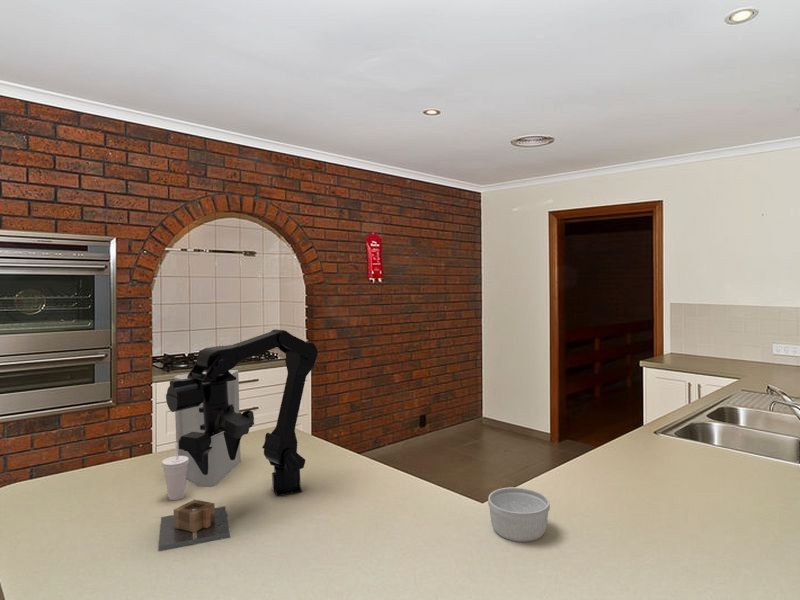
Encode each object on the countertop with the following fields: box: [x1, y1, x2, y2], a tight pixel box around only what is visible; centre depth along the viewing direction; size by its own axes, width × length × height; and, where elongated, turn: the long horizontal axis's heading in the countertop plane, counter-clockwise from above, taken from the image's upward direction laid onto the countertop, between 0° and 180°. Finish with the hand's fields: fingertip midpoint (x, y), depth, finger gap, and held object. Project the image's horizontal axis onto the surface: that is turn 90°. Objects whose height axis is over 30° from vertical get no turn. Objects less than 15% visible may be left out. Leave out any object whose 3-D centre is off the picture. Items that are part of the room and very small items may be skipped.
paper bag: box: [173, 369, 241, 488], centre depth 149 cm, size 19×15×28 cm
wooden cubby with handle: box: [173, 499, 216, 532], centre depth 116 cm, size 6×7×4 cm
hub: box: [157, 505, 231, 552], centre depth 116 cm, size 14×14×4 cm
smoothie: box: [161, 443, 189, 501], centre depth 133 cm, size 6×6×14 cm
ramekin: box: [487, 486, 551, 543], centre depth 114 cm, size 13×13×7 cm
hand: (219, 467), depth 122 cm, fingers open, 9 cm apart
